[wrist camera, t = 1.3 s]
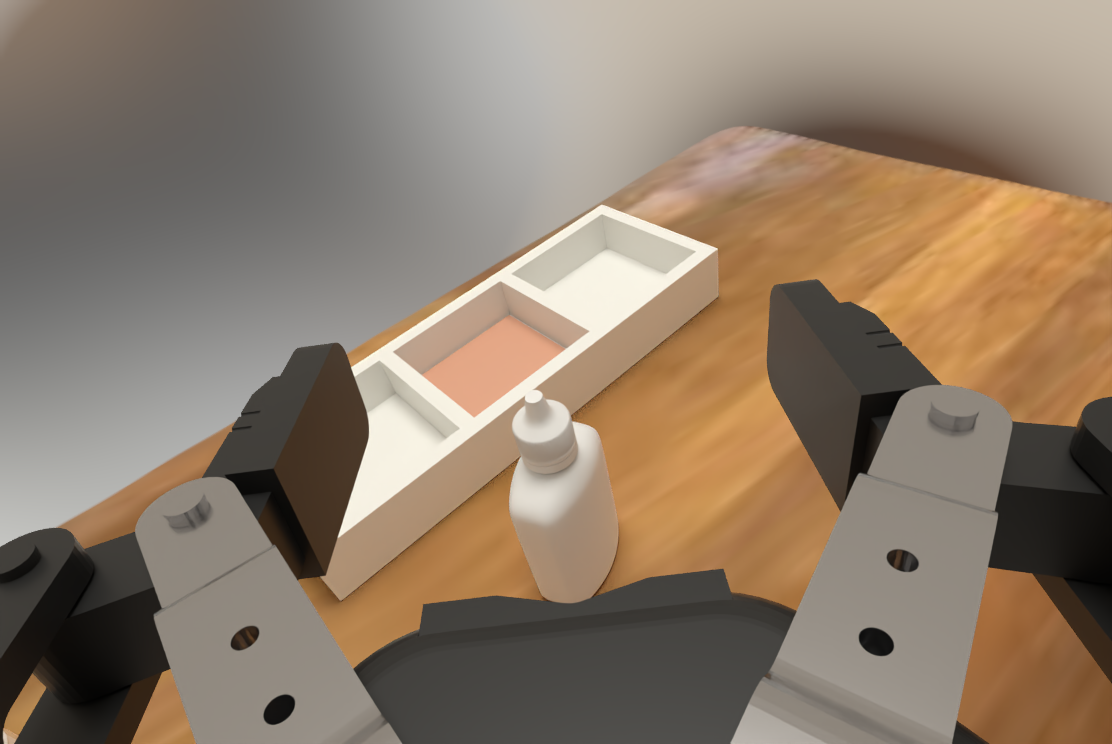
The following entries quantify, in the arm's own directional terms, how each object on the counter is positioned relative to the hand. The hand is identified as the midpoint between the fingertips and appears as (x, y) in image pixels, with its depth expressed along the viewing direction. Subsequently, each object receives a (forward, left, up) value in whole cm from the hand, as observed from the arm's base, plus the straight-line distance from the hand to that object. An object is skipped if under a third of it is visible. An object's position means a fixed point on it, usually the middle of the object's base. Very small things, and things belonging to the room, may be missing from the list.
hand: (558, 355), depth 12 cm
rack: (+3, -23, -21) cm, 31 cm away
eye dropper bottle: (+1, -9, -22) cm, 23 cm away
